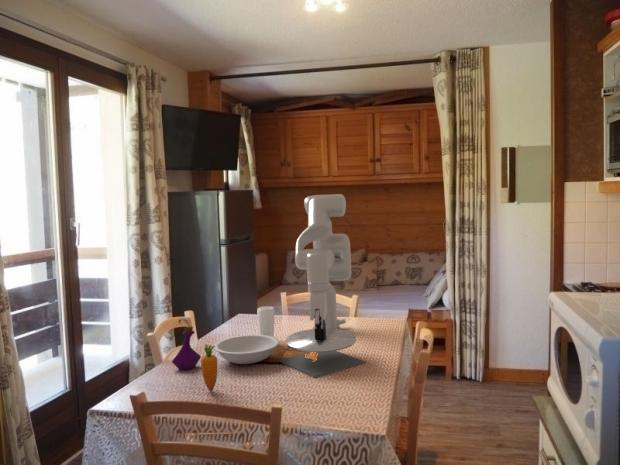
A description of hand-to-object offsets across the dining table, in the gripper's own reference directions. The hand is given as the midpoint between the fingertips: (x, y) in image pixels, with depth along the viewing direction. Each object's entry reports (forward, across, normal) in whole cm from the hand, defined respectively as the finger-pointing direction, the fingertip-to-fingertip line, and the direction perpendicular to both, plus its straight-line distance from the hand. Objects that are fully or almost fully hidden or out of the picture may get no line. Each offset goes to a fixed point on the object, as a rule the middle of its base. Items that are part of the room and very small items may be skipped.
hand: (320, 337), depth 182 cm
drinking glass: (+10, -20, -25) cm, 34 cm away
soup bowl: (+9, 0, -28) cm, 29 cm away
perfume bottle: (+9, +9, -47) cm, 49 cm away
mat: (+9, +1, 0) cm, 9 cm away
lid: (+1, 0, 0) cm, 1 cm away
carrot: (+8, +30, -30) cm, 43 cm away
